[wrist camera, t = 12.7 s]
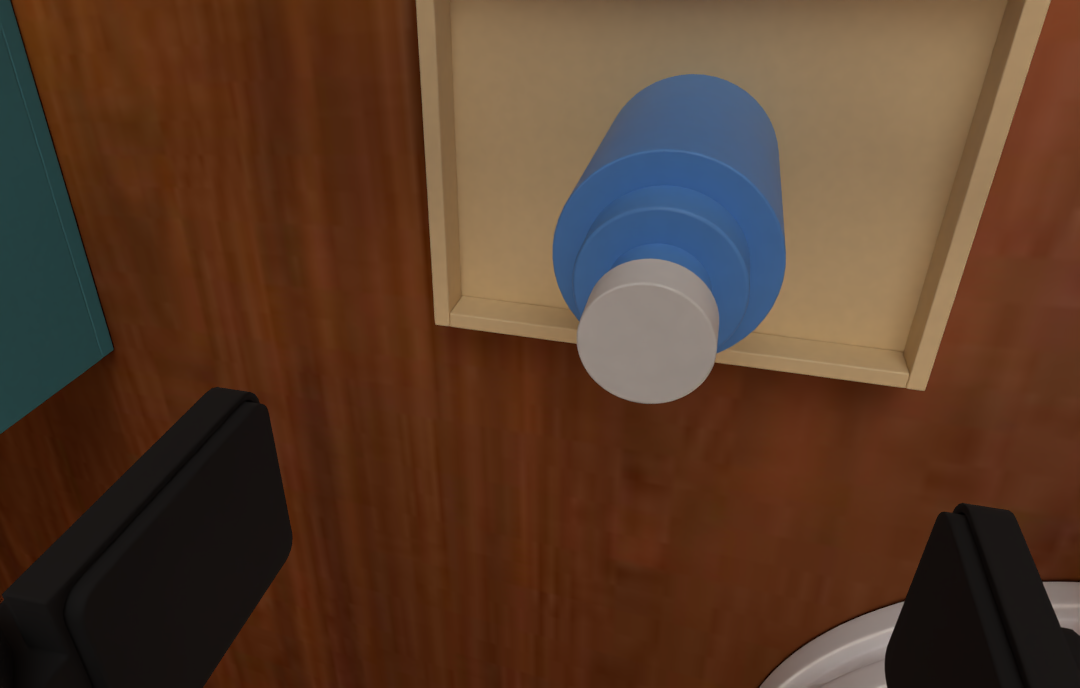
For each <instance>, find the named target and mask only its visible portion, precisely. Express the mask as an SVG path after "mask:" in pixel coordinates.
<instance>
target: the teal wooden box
mask: <svg viewBox="0 0 1080 688" xmlns="http://www.w3.org/2000/svg"><path fill="white" fill-rule="evenodd" d="M113 350H114V348H113V345H112V342H111V338H110V335H109V331H108V328H107V325H106V321H105V318H104V315H103V311H102V308H101V305H100V301H99V298H98V294H97V291H96V288H95V284H94V281H93V278H92V274H91V271H90V267H89V264H88V261H87V257H86V254H85V251H84V247H83V244H82V241H81V237H80V234H79V230H78V227H77V224H76V220H75V217H74V214H73V210H72V207H71V203H70V200H69V197H68V193H67V190H66V187H65V183H64V180H63V177H62V173H61V170H60V166H59V163H58V160H57V156H56V153H55V150H54V146H53V143H52V139H51V136H50V133H49V129H48V126H47V123H46V119H45V116H44V112H43V109H42V106H41V102H40V99H39V96H38V92H37V89H36V86H35V82H34V79H33V75H32V72H31V69H30V65H29V62H28V59H27V55H26V52H25V48H24V45H23V42H22V38H21V35H20V32H19V28H18V25H17V22H16V18H15V15H14V11H13V8H12V5H11V1H10V0H0V434H1V433H3V432H4V431H5V430H7V429H8V428H9V427H11V426H12V425H13V424H15V423H16V422H17V421H19V420H20V419H21V418H23V417H24V416H25V415H27V414H28V413H30V412H31V411H32V410H34V409H35V408H36V407H38V406H39V405H40V404H42V403H43V402H44V401H46V400H47V399H48V398H50V397H51V396H53V395H54V394H55V393H57V392H58V391H59V390H61V389H62V388H63V387H65V386H66V385H67V384H69V383H70V382H71V381H73V380H74V379H75V378H77V377H78V376H80V375H81V374H82V373H84V372H85V371H86V370H88V369H89V368H90V367H92V366H93V365H94V364H96V363H97V362H98V361H100V360H101V359H102V358H103V357H105V356H106V355H107V354H109V353H110V352H112V351H113Z"/></svg>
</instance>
